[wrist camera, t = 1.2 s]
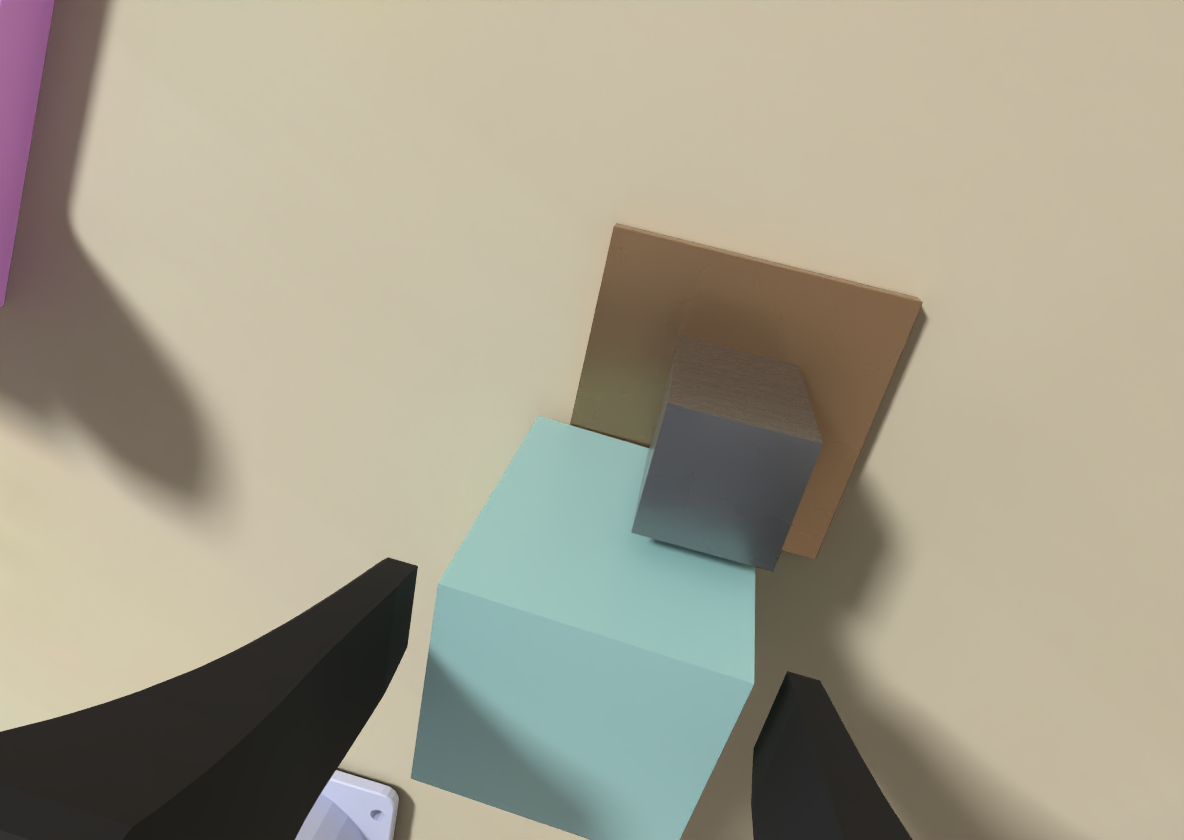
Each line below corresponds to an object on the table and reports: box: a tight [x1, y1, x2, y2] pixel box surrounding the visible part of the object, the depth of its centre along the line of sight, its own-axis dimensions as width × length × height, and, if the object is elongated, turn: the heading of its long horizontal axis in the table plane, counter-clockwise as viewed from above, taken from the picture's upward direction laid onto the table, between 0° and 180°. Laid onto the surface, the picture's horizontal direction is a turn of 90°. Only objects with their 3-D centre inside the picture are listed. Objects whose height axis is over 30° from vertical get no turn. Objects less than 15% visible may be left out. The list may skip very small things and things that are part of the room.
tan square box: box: [570, 223, 923, 571], centre depth 14 cm, size 6×6×4 cm
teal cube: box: [411, 416, 755, 840], centre depth 15 cm, size 5×5×6 cm
